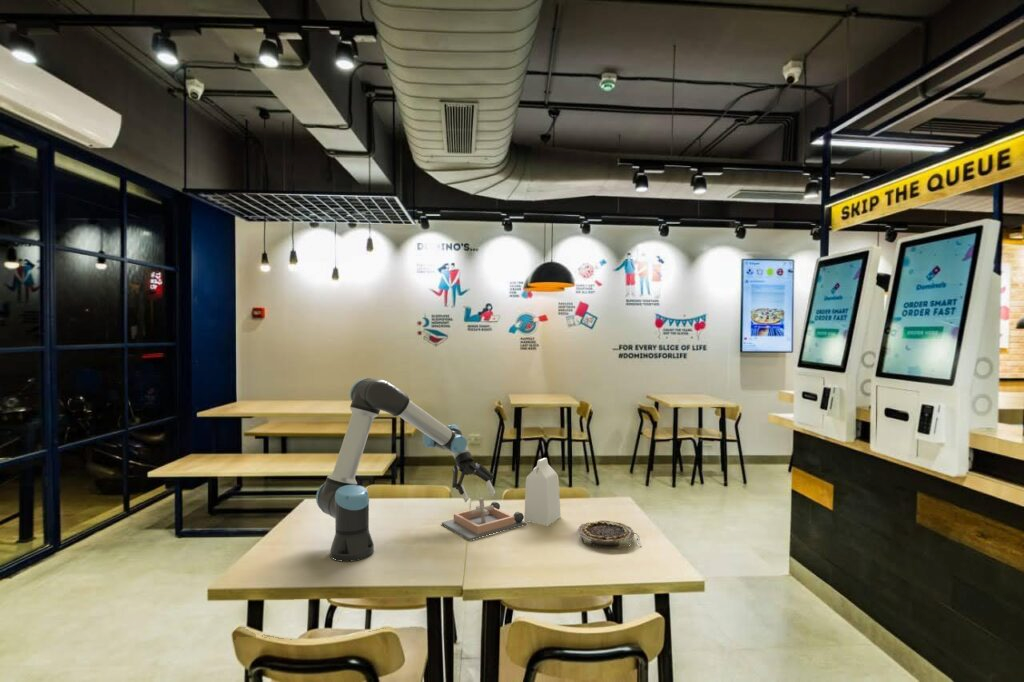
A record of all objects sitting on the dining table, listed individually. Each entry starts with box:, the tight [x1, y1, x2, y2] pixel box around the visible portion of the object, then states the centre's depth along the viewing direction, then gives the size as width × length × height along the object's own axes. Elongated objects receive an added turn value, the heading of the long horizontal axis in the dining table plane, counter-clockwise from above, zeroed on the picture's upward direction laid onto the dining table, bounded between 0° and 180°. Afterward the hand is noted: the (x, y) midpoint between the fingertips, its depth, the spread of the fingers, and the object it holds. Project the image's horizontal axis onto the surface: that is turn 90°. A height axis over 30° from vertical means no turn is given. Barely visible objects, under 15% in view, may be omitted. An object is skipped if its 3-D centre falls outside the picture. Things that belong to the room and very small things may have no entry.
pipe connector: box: [470, 497, 494, 523], centre depth 213 cm, size 10×10×10 cm
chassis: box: [441, 501, 527, 541], centre depth 212 cm, size 28×22×5 cm
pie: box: [577, 520, 642, 549], centre depth 197 cm, size 28×27×5 cm
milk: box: [523, 457, 562, 527], centre depth 219 cm, size 12×12×26 cm
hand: (480, 497), depth 215 cm, fingers open, 13 cm apart
